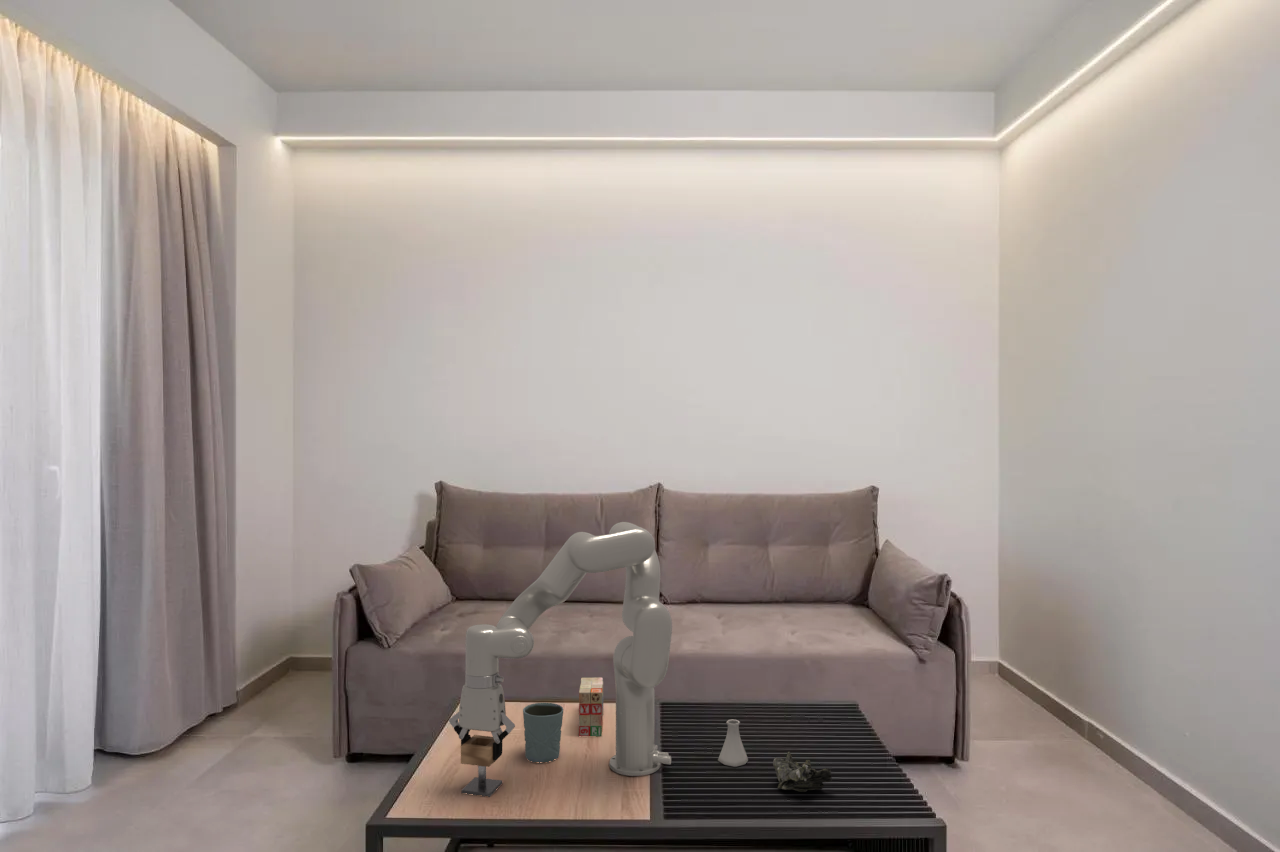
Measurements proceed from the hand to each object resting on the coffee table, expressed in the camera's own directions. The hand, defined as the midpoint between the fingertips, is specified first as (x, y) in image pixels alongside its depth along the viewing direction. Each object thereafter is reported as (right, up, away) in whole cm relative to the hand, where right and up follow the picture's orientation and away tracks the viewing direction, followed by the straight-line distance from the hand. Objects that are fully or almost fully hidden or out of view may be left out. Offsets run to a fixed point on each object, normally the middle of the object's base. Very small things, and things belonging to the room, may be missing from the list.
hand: (481, 755), depth 194 cm
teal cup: (+12, -8, +19) cm, 24 cm away
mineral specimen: (+74, -8, +2) cm, 75 cm away
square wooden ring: (0, -1, 0) cm, 1 cm away
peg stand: (0, -8, 0) cm, 8 cm away
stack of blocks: (+23, -7, +42) cm, 48 cm away
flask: (+60, -8, +16) cm, 62 cm away
